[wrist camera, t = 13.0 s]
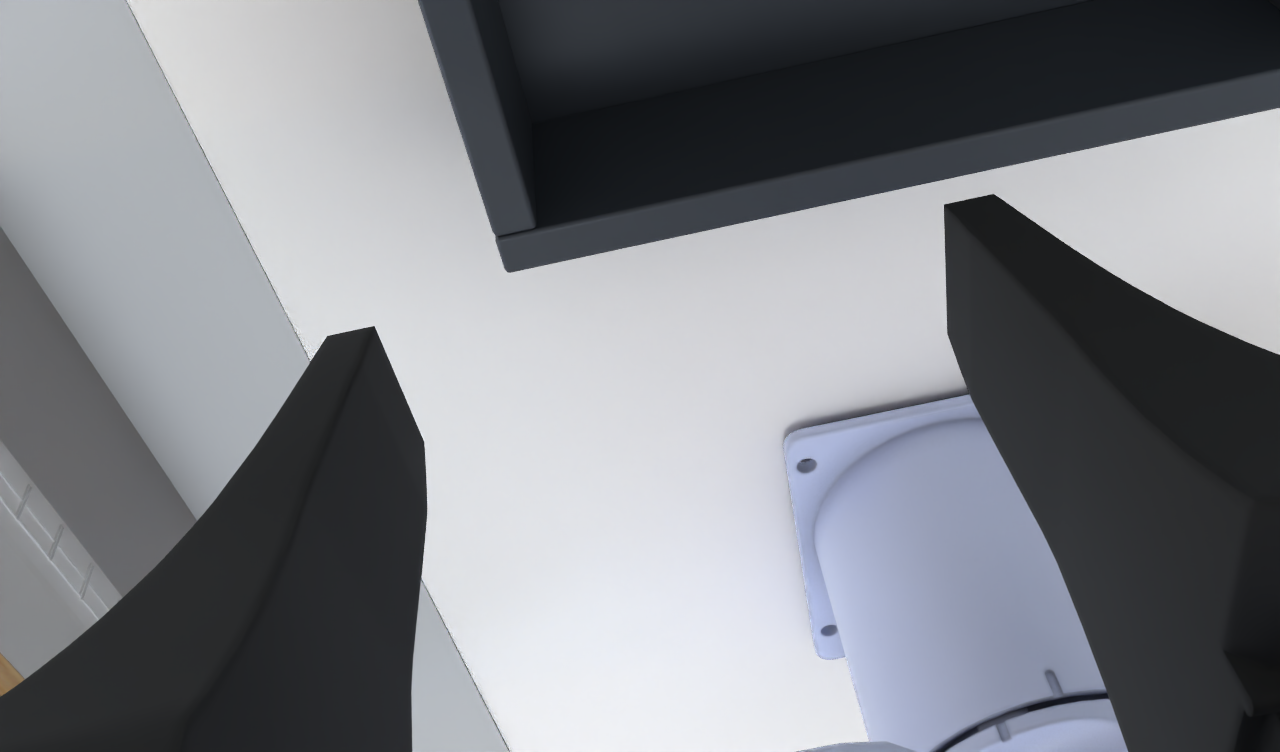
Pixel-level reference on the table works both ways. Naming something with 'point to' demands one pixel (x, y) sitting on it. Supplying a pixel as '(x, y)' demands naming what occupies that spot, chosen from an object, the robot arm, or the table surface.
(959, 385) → the table surface
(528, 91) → the bin
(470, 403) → the table surface
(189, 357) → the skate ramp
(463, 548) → the table surface
